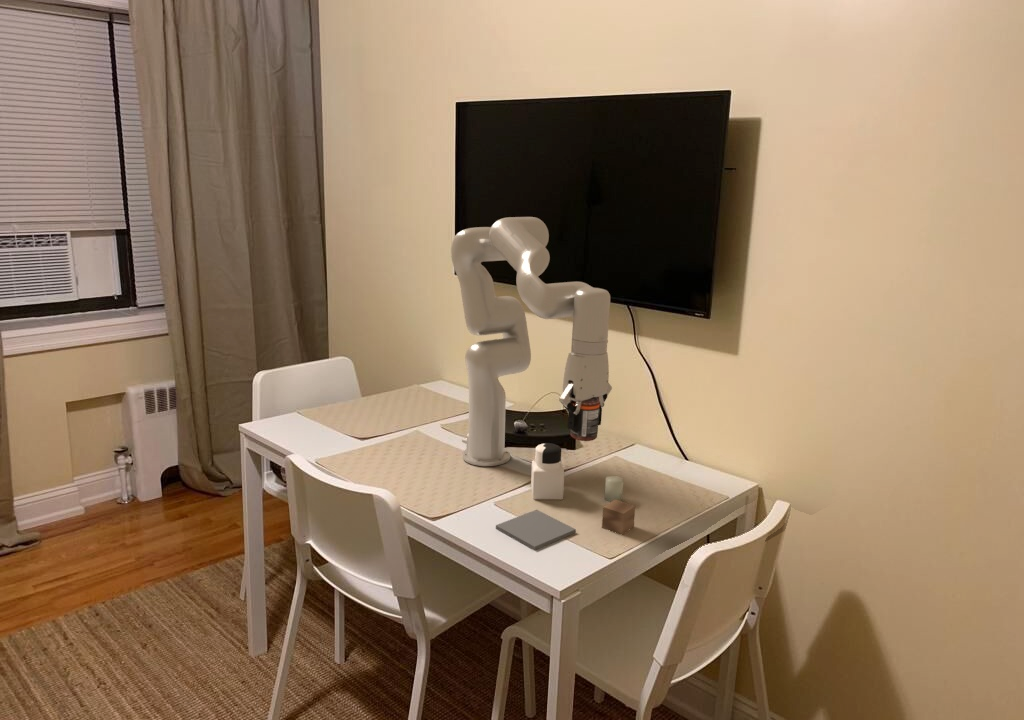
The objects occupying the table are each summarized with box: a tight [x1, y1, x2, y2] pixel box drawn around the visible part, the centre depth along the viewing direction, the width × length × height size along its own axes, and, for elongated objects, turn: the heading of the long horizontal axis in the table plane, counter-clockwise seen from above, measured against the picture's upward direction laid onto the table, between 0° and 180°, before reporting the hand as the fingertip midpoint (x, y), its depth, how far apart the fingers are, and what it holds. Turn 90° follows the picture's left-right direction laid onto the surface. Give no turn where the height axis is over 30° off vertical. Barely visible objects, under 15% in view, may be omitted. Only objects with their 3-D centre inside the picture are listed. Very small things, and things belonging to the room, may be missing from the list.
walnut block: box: [601, 499, 636, 536], centre depth 162 cm, size 5×5×5 cm
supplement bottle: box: [570, 395, 600, 442], centre depth 164 cm, size 6×6×11 cm
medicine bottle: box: [530, 442, 565, 501], centre depth 177 cm, size 7×7×12 cm
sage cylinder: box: [604, 475, 624, 503], centre depth 176 cm, size 4×4×5 cm
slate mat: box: [495, 509, 577, 551], centre depth 160 cm, size 12×12×1 cm
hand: (584, 425), depth 165 cm, fingers closed on supplement bottle, 6 cm apart
